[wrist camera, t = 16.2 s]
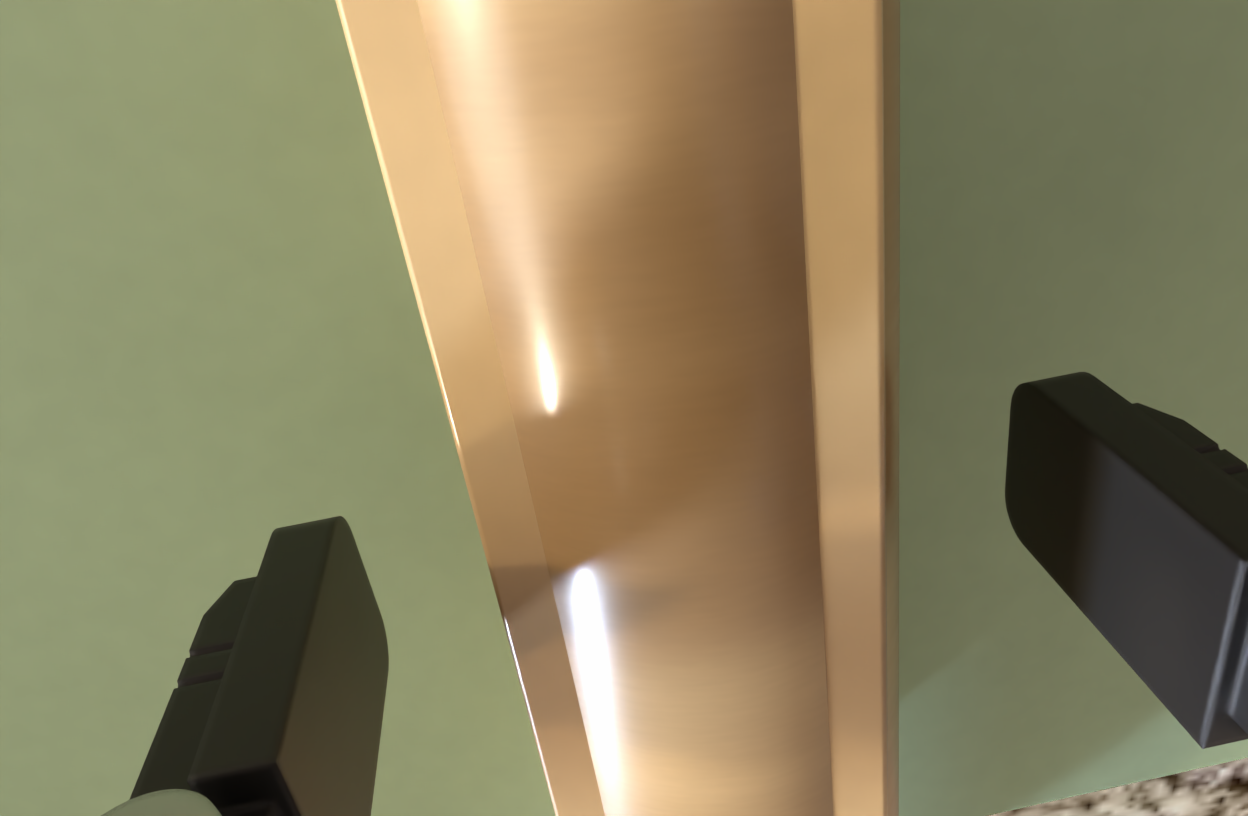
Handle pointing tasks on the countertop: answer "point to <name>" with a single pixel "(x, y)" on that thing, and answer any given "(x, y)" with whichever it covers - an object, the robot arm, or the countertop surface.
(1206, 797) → the countertop surface
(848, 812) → the rolling pin
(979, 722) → the pastry board
